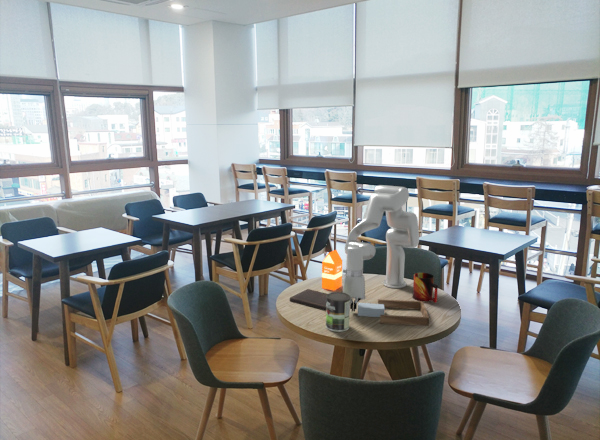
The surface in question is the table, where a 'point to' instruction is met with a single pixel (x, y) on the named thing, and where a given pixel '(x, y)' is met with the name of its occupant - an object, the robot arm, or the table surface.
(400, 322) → the frame
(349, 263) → the robot arm
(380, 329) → the table surface
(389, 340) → the table surface
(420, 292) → the mug
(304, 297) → the hardcover book
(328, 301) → the coffee can
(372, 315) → the tile
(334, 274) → the orange juice
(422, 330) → the table surface
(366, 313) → the tile
